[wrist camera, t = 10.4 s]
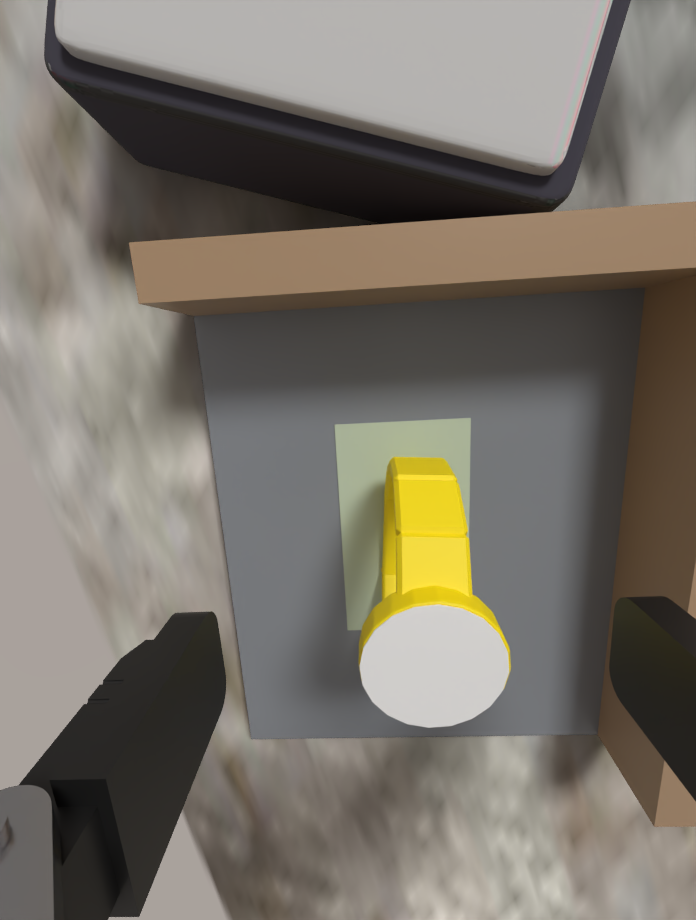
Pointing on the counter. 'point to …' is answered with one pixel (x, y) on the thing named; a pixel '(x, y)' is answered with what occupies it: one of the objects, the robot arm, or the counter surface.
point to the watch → (429, 607)
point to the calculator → (348, 96)
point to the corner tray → (451, 448)
